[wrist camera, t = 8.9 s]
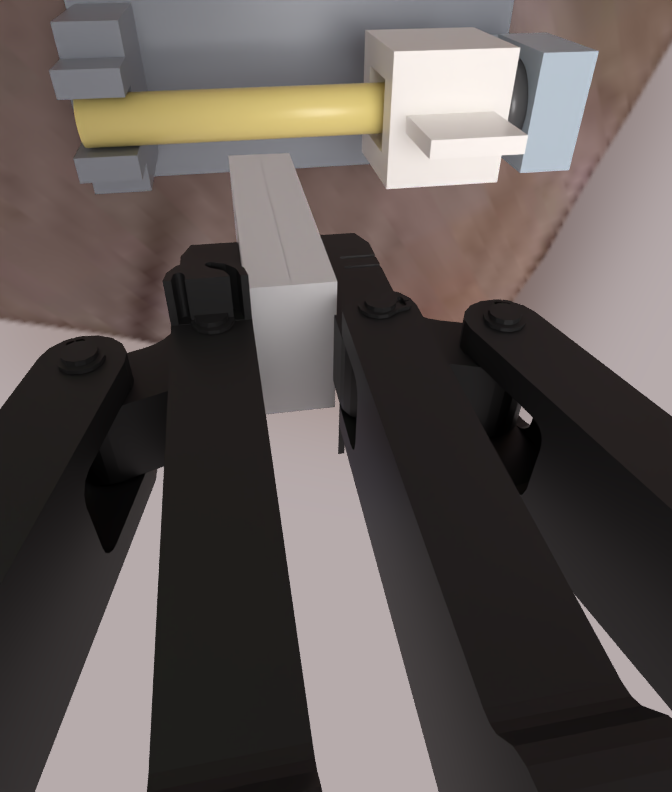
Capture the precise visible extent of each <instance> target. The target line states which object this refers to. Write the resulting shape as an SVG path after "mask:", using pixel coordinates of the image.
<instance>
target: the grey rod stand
mask: <svg viewBox="0 0 672 792" xmlns="http://www.w3.org/2000/svg"><path fill="white" fill-rule="evenodd" d="M64 2H65V6H66V11H64V12H63V13H62V14H60V15H59V16H57V17H56V18H55V19H53V20H52V21H51V22H50V23H51V27H52V31H53V35H54V38H55V42H56V46H57V50H58V54H59V58H60V59H59V60H58V61H57V63H56V64H55V65H54V66H53V67H52V68H51V69H50V70H49V72H50V76H51V79H52V83H53V87H54V90H55V94H56V97H57V100H71V103H72V107H73V111H74V115H75V121H76V125H77V129H78V133H79V136H80V139H81V141H82V143H81V145H80V147H79V149H78V151H77V153H76V155H75V157H74V158H73V159H74V163H75V166H76V170H77V174H78V177H79V181H80V184H81V183H93V187H94V191H95V194H106V193H123V192H140V191H152V186H153V181H154V176H169V175H186V174H204V173H221V172H230V168H229V158H228V156H232V155H256V154H280V153H289V154H290V157H291V159H292V162H293V165H294V167H295V168H309V167H326V166H344V165H361V164H370V163H369V162H368V160H367V159H366V157H365V156H364V154H363V153H362V134H380V133H383V114H384V93H385V82H377V83H364V56H365V30H382V29H421V28H460V27H474V28H477V29H479V30H481V31H484V32H486V33H488V34H490V35H493V36H495V37H497V38H500V39H502V40H504V41H507V42H509V43H511V44H513V45H516V46H518V47H520V53H519V59H518V65H517V70H516V76H515V82H514V87H513V93H512V99H511V104H510V110H509V116H508V122H510V123H511V124H513V125H514V126H516V127H517V128H519V129H520V130H521V131H523V132H524V133H526V134H527V135H528V139H527V144H526V149H525V154H518V155H502V156H501V158H503V159H504V160H505V161H506V162H507V163H509V164H510V165H511V166H512V167H513V168H515V169H516V170H517V171H518V172H519V173H527V172H544V171H560V170H569V168H570V164H571V160H572V156H573V152H574V148H575V144H576V140H577V136H578V132H579V128H580V124H581V120H582V116H583V112H584V108H585V104H586V100H587V96H588V92H589V88H590V84H591V80H592V76H593V72H594V68H595V64H596V60H597V56H598V52H599V51H597V50H594V49H591V48H589V47H586V46H583V45H580V44H578V43H575V42H572V41H569V40H566V39H564V38H561V37H558V36H555V35H552V34H550V33H547V32H546V33H510V34H509V28H510V22H511V16H512V9H513V3H514V0H64Z"/></svg>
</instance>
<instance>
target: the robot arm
mask: <svg viewBox="0 0 672 792" xmlns="http://www.w3.org/2000/svg"><path fill="white" fill-rule="evenodd" d="M228 158H229V168H230V179H231V189H232V199H233V209H234V220H235V230H236V240H237V242H234V243H218V244H202V245H191V246H190V247H189V248H188V249H187V250H186V252H185V253H184V254H183V255H182V256H181V261H180V265H178V266H176V267H174V268H173V269H171V270H170V271H169V272H167V273H166V275H165V277H164V279H163V286H164V291H165V296H166V301H167V306H168V311H169V317H170V322H171V334H170V335H169V336H167V337H166V338H165V339H164V340H162V341H160V342H158V343H156V344H154V345H151V346H149V347H146V348H143V349H140V350H136V351H133V352H129V353H127V352H126V350H125V348H124V346H123V344H122V343H120V342H118V341H116V340H115V339H113V338H109V337H103V336H81V337H76V338H73V339H72V338H71V339H68V340H65V341H63V342H61V343H59V344H57V345H55V346H53V347H51V348H49V349H48V350H47V351H46V352H45V353H44V354H42V355H41V356H40V357H39V359H38V360H37V361H36V362H35V364H34V365H33V366H32V368H31V369H30V370H29V372H28V373H27V374H26V375H25V377H24V378H23V379H22V381H21V382H20V384H19V385H18V386H17V387H16V389H15V390H14V391H13V393H12V394H11V396H10V397H9V398H8V400H7V401H6V402H5V404H4V405H3V406H2V407H1V409H0V792H35V790H36V787H37V785H38V782H39V779H40V777H41V774H42V772H43V769H44V767H45V764H46V761H47V759H48V756H49V754H50V751H51V749H52V746H53V743H54V740H55V738H56V736H57V733H58V730H59V728H60V725H61V723H62V720H63V718H64V715H65V712H66V710H67V707H68V705H69V702H70V700H71V697H72V694H73V692H74V689H75V687H76V684H77V682H78V679H79V676H80V674H81V671H82V669H83V666H84V663H85V661H86V658H87V656H88V653H89V651H90V648H91V645H92V643H93V640H94V638H95V635H96V633H97V630H98V627H99V625H100V622H101V620H102V617H103V615H104V612H105V609H106V606H107V604H108V601H109V599H110V597H111V594H112V591H113V589H114V586H115V584H116V581H117V579H118V576H119V573H120V571H121V568H122V566H123V563H124V560H125V558H126V555H127V553H128V550H129V548H130V545H131V542H132V540H133V537H134V535H135V532H136V529H137V527H138V524H139V522H140V519H141V517H142V514H143V512H144V509H145V506H146V504H147V501H148V499H149V496H150V494H151V491H152V488H153V486H154V483H155V480H156V473H157V469H158V468H160V467H163V466H164V480H163V499H162V519H161V539H160V559H159V579H158V599H157V618H156V619H157V620H156V637H155V657H154V677H153V696H152V717H151V736H150V757H149V775H148V786H147V792H322V788H321V784H320V780H319V777H318V772H317V768H316V762H315V756H314V750H313V744H312V736H311V729H310V722H309V715H308V708H307V701H306V694H305V687H304V680H303V673H302V666H301V659H300V652H299V645H298V638H297V631H296V624H295V617H294V610H293V602H292V596H291V588H290V581H289V575H288V567H287V561H286V553H285V546H284V539H283V532H282V525H281V518H280V512H279V504H278V497H277V491H276V484H275V477H274V469H273V462H272V456H271V448H270V441H269V435H268V427H267V420H266V414H274V413H283V412H293V411H302V410H311V409H321V408H330V407H335V388H336V392H337V395H338V399H339V402H340V410H339V412H340V413H339V447H338V454H341V453H344V446H345V448H346V452H347V455H348V459H349V463H350V467H351V470H352V474H353V477H354V481H355V485H356V488H357V492H358V496H359V500H360V503H361V507H362V511H363V514H364V518H365V522H366V525H367V529H368V533H369V536H370V540H371V544H372V547H373V551H374V555H375V559H376V562H377V566H378V570H379V573H380V577H381V581H382V584H383V588H384V592H385V595H386V599H387V603H388V606H389V610H390V614H391V618H392V621H393V624H394V629H395V632H396V636H397V639H398V643H399V646H400V651H401V654H402V658H403V662H404V665H405V669H406V673H407V676H408V680H409V684H410V688H411V691H412V695H413V699H414V702H415V706H416V709H417V713H418V717H419V721H420V724H421V728H422V732H423V735H424V739H425V743H426V746H427V750H428V753H429V757H430V761H431V765H432V769H433V772H434V776H435V780H436V783H437V787H438V791H439V792H672V718H671V717H669V716H668V715H666V714H663V713H660V712H658V711H655V710H652V709H649V708H647V707H644V706H641V705H640V704H639V703H638V702H637V701H636V700H635V699H634V698H633V697H632V696H631V695H630V694H629V692H628V691H627V689H626V688H625V686H624V685H623V683H622V682H621V680H620V678H619V676H618V674H617V672H616V670H615V669H614V667H613V665H612V663H611V661H610V659H609V658H608V656H607V654H606V652H605V650H604V648H603V646H602V645H601V643H600V641H599V639H598V637H597V636H596V634H595V632H594V630H593V628H592V626H591V624H590V623H589V621H588V619H587V617H586V615H585V613H584V612H583V610H582V608H581V606H580V604H579V603H578V601H577V599H576V597H575V595H576V596H577V598H578V599H579V600H580V601H581V602H582V604H583V605H584V606H585V607H586V608H587V609H588V611H589V612H590V613H591V614H592V616H593V617H594V618H595V619H596V620H597V621H598V623H599V624H600V625H601V626H602V627H603V629H604V630H605V631H606V632H607V633H608V635H609V636H610V637H611V638H612V639H613V641H614V642H615V643H616V644H617V646H618V647H619V648H620V649H621V650H622V652H623V653H624V654H625V655H626V656H627V658H628V659H629V660H630V661H631V662H632V664H633V665H634V666H635V667H636V668H637V670H638V671H639V672H640V673H641V674H642V675H643V677H644V678H645V679H646V680H647V681H648V683H649V684H650V685H651V686H652V687H653V688H654V690H655V691H656V692H657V693H658V695H659V696H660V697H661V698H662V699H663V701H664V702H665V703H666V704H667V705H668V707H669V708H670V709H671V710H672V416H670V415H669V414H668V413H667V412H665V411H664V410H663V409H661V408H660V407H659V406H657V405H656V404H655V403H653V402H652V401H651V400H649V399H648V398H647V397H646V396H644V395H643V394H642V393H640V392H639V391H638V390H637V389H635V388H634V387H633V386H631V385H630V384H629V383H627V382H626V381H625V380H623V379H622V378H621V377H620V376H618V375H617V374H616V373H614V372H613V371H612V370H610V369H609V368H608V367H606V366H605V365H604V364H602V363H601V362H600V361H599V360H597V359H596V358H595V357H593V356H592V355H591V354H589V353H588V352H587V351H585V350H584V349H583V348H581V347H580V346H579V345H578V344H576V343H575V342H574V341H572V340H571V339H570V338H568V337H567V336H566V335H565V334H563V333H562V332H561V331H559V330H558V329H557V328H555V327H554V326H553V325H552V324H550V323H549V322H548V321H546V320H545V319H544V318H542V317H541V316H540V315H538V314H537V313H536V312H534V311H532V310H531V309H529V308H527V307H525V306H524V305H520V304H517V303H514V302H512V301H508V300H503V301H502V300H488V301H480V302H478V303H475V304H473V305H471V306H470V307H469V308H468V309H467V310H466V311H465V314H464V319H463V323H459V322H449V321H440V320H434V319H428V318H425V317H423V316H422V314H421V312H420V310H419V308H418V307H417V305H416V304H415V303H414V302H413V301H412V300H411V299H410V298H409V297H407V296H405V295H403V294H401V293H399V292H394V291H393V289H392V287H391V286H390V284H389V282H388V280H387V278H386V276H385V274H384V272H383V270H382V268H381V266H380V265H379V262H378V260H377V258H376V257H375V254H374V252H373V250H372V248H371V246H370V244H369V243H368V242H367V241H365V240H364V239H362V238H361V237H359V236H358V235H356V234H355V233H348V234H332V235H320V234H319V231H318V229H317V226H316V223H315V221H314V218H313V215H312V213H311V210H310V207H309V205H308V202H307V199H306V197H305V194H304V191H303V189H302V186H301V183H300V181H299V178H298V175H297V173H296V170H295V167H294V165H293V162H292V159H291V157H290V154H289V153H280V154H256V155H232V156H228ZM521 406H522V407H523V408H524V409H525V410H526V411H527V412H528V413H529V414H530V415H531V416H532V417H533V419H532V422H531V424H530V425H529V424H528V423H526V422H525V421H524V420H522V418H521V417H520V416H519V412H520V409H521ZM574 594H575V595H574Z"/></svg>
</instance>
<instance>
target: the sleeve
mask: <svg viewBox="0 0 672 792" xmlns="http://www.w3.org/2000/svg"><path fill="white" fill-rule="evenodd" d="M519 53H520V47H518V46H516V45H513V44H511V43H509V42H507V41H504V40H502V39H500V38H497V37H495V36H493V35H490V34H488V33H486V32H484V31H481V30H479V29H477V28H474V27H460V28H421V29H382V30H365V56H364V83H377V82H385V93H384V114H383V133H380V134H362V153H363V154H364V156H365V157H366V159H367V160H368V162H369V163H370V165H371V166H372V168H373V169H374V171H375V172H376V174H377V175H378V177H379V178H380V180H381V182H382V183H383V185H384V186H385V188H386V189H396V188H411V187H427V186H443V185H459V184H475V183H491V182H497V178H498V173H499V167H500V161H501V156H502V155H518V154H525V149H526V144H527V139H528V135H527V134H526V133H524V132H523V131H521V130H520V129H519V128H517V127H516V126H514V125H513V124H511V123H510V122H508V116H509V110H510V104H511V99H512V93H513V87H514V82H515V76H516V70H517V65H518V59H519Z"/></svg>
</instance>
